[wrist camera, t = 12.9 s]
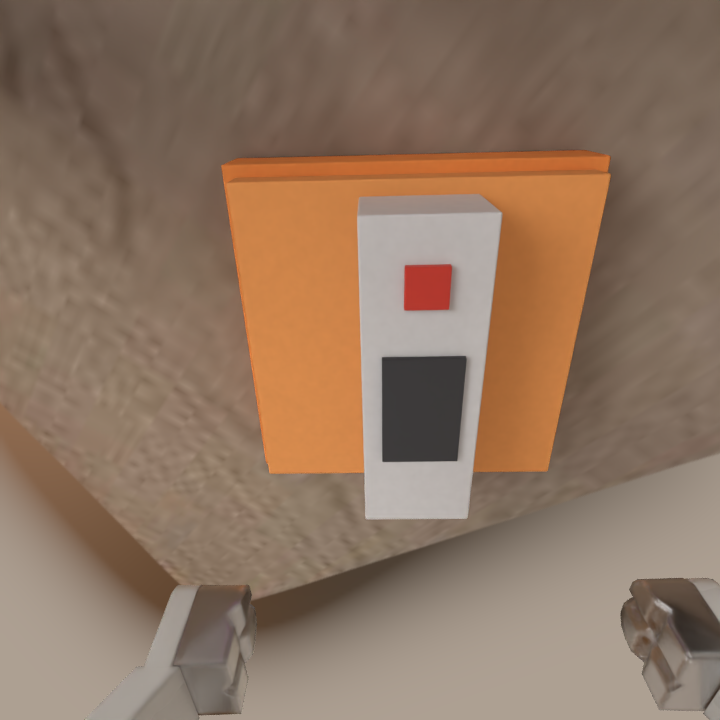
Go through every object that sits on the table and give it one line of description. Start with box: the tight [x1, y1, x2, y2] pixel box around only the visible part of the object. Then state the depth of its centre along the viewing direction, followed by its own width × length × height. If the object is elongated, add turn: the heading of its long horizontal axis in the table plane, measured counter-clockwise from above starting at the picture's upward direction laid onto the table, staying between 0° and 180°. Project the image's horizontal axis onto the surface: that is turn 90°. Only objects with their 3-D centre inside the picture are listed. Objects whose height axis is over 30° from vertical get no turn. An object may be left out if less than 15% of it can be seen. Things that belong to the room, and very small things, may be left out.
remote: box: [357, 194, 503, 519], centre depth 20 cm, size 14×5×4 cm, turn 2°
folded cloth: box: [222, 150, 611, 474], centre depth 24 cm, size 16×16×4 cm
